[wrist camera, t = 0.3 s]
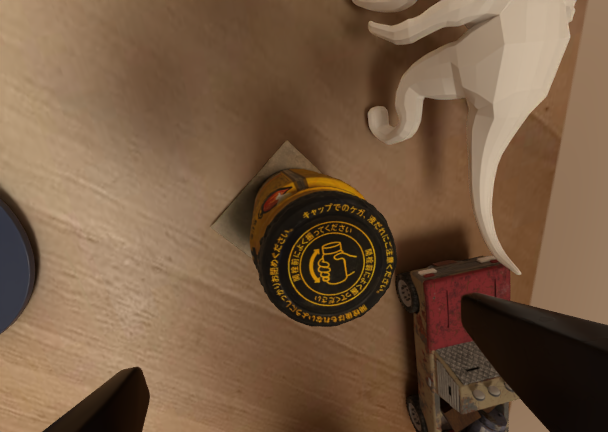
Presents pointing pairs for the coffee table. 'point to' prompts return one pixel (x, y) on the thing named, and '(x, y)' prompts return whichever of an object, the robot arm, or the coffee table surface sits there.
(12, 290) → the peg on round base
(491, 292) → the toy vehicle
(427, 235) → the coffee table surface
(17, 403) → the coffee table surface
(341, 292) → the condiment
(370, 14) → the coffee table surface
